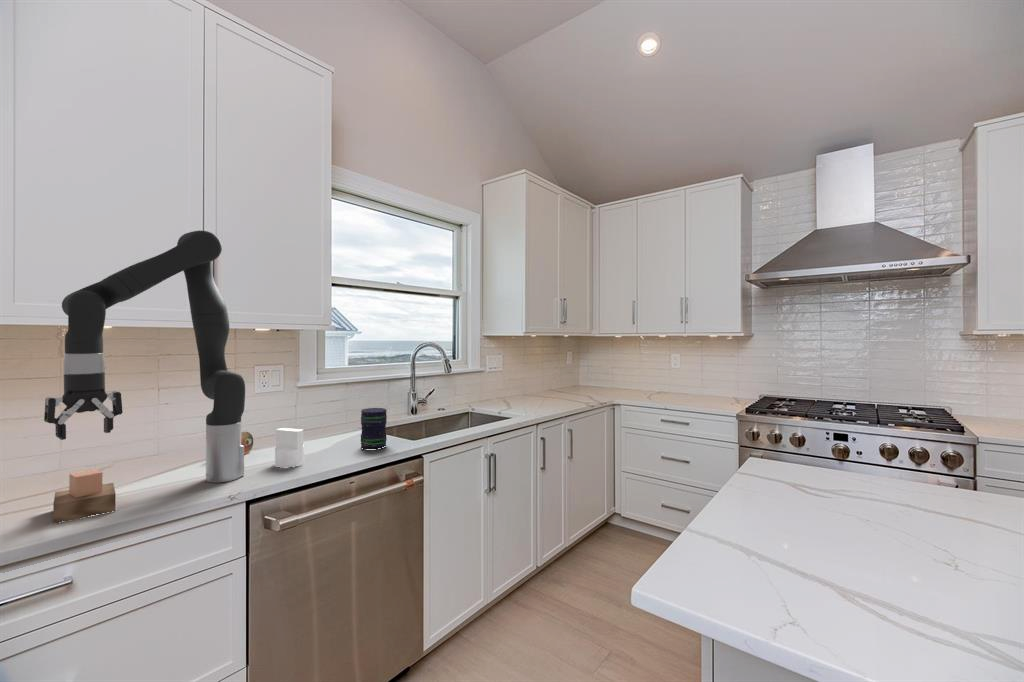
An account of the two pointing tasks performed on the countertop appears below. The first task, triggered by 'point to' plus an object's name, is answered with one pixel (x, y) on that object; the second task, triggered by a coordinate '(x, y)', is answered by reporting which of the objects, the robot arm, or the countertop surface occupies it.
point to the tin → (246, 441)
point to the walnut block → (83, 504)
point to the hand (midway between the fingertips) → (85, 435)
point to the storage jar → (373, 428)
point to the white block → (289, 447)
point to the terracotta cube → (85, 483)
